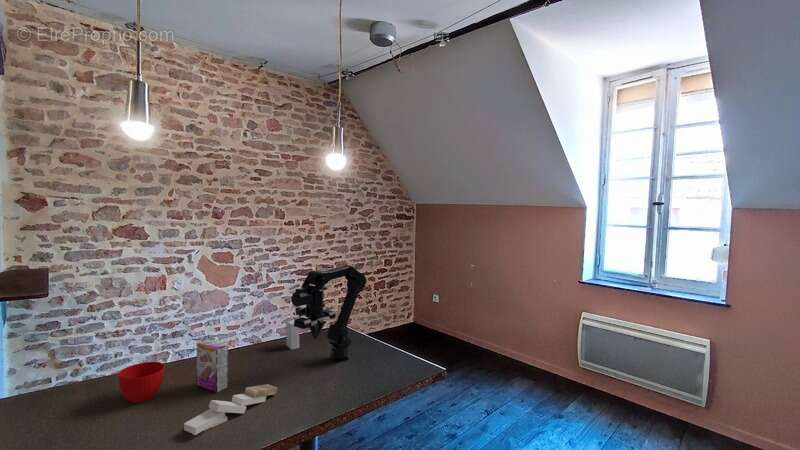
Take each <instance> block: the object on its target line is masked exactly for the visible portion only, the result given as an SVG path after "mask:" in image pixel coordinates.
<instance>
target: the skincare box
mask: <svg viewBox="0 0 800 450" xmlns="http://www.w3.org/2000/svg"><path fill="white" fill-rule="evenodd" d="M294 321H295V319H293V320H291V319H290V320H287V321H285V325H286V326H285V327H286V328H285V331H286V336H285V338H286V341H285V342H286V347H288V348H289V349H290V350H295V349H299V348H300V328H298V327H295V326H294Z"/></svg>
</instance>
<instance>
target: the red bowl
mask: <svg viewBox="0 0 800 450" xmlns="http://www.w3.org/2000/svg"><path fill="white" fill-rule="evenodd" d="M165 369H166V368H165V364H164V363H162V362H159V361H146V362H145V361H144V362H139V363H135V364H132V365H129V366H126V367H125V368H123V369H121V370H120V371H119V373H118V377H117V378H118V385H119V390H120V393H121V394H122V395H123V397H124V399H126V400H128V401H129V402H130V403H133V404H140V403H145V402H148V401H150V400H152V399H153V398H154V396H155V395H157V393H158V392H159V390H160V389H161V386H162V384H163V382H164V376H165Z"/></svg>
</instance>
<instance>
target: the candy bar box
mask: <svg viewBox="0 0 800 450" xmlns="http://www.w3.org/2000/svg"><path fill="white" fill-rule="evenodd" d="M228 355H229V345H228V344H225V343H222V342H219V341H215V340H212V339H208V338H207V339H204V340H201V341H199V342H197V343H196V386H198V387H200V388H203V389H206V390H208V391H211V392H214V393H216V394H218V393H220V392H221V391H223V390H226V389H227V388H228V387H229V386H228V385H229V384H228V383H229V380H228V375H229V373H228V372H229V369H228V367H229V356H228Z"/></svg>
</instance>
